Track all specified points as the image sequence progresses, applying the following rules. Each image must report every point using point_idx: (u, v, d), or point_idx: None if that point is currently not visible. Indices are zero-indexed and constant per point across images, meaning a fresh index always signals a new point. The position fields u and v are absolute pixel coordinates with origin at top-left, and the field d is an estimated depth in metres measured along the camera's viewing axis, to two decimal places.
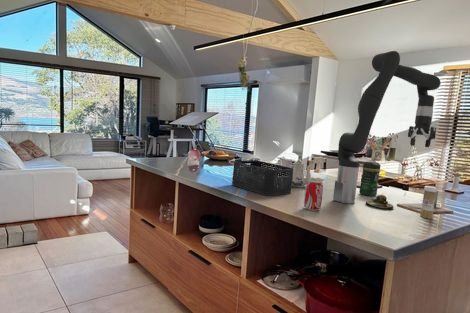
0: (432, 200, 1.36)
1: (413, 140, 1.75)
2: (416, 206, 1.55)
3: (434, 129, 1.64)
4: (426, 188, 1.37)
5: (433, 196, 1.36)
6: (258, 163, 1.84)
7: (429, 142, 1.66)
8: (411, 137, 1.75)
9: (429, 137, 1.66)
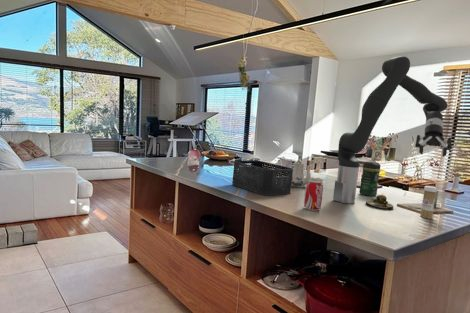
0: (432, 200, 1.36)
1: None
2: (416, 206, 1.55)
3: (450, 141, 1.49)
4: (426, 188, 1.37)
5: (433, 196, 1.36)
6: (259, 163, 1.84)
7: (446, 151, 1.46)
8: (422, 144, 1.51)
9: (447, 146, 1.47)
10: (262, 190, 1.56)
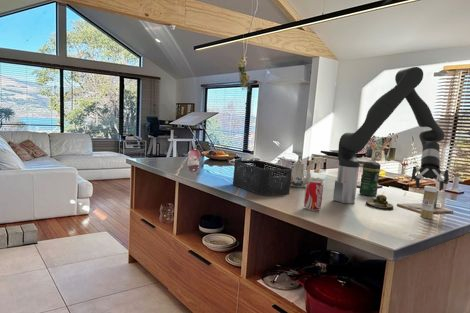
0: (432, 200, 1.36)
1: None
2: (416, 206, 1.55)
3: (447, 174, 1.45)
4: (426, 188, 1.37)
5: (433, 196, 1.36)
6: (261, 163, 1.84)
7: None
8: (418, 177, 1.47)
9: (443, 180, 1.43)
10: (259, 190, 1.56)
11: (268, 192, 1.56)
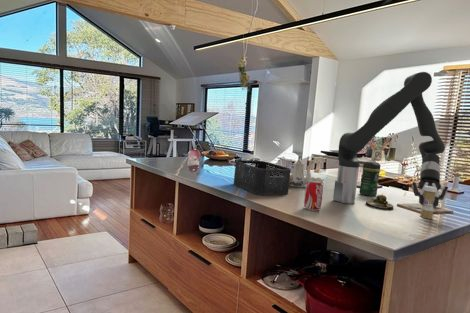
0: (432, 200, 1.36)
1: None
2: (416, 206, 1.55)
3: (446, 190, 1.39)
4: (426, 188, 1.37)
5: (433, 196, 1.36)
6: (264, 163, 1.84)
7: None
8: (422, 193, 1.40)
9: (438, 195, 1.38)
10: (255, 189, 1.56)
11: (264, 192, 1.56)
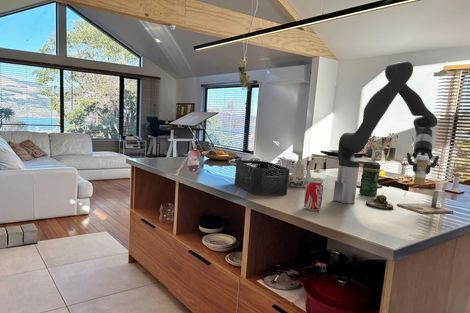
0: (424, 168, 1.49)
1: None
2: (416, 206, 1.55)
3: (438, 159, 1.52)
4: (419, 157, 1.50)
5: (425, 164, 1.49)
6: (265, 164, 1.84)
7: None
8: (415, 162, 1.52)
9: (430, 164, 1.50)
10: (252, 189, 1.57)
11: (261, 191, 1.56)
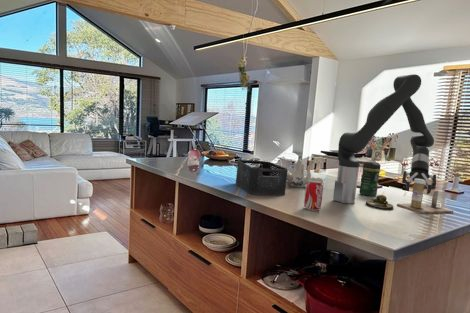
0: (421, 191, 1.50)
1: (409, 185, 1.54)
2: None
3: (435, 178, 1.53)
4: (416, 180, 1.51)
5: (422, 188, 1.50)
6: (268, 164, 1.83)
7: (430, 188, 1.50)
8: (408, 180, 1.54)
9: (431, 183, 1.51)
10: (249, 188, 1.57)
11: (257, 191, 1.56)
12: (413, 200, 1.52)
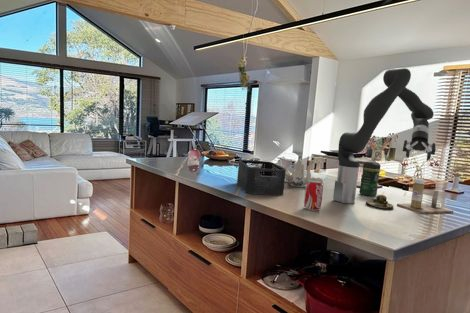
0: (421, 191, 1.50)
1: (409, 152, 1.63)
2: None
3: (434, 146, 1.62)
4: (415, 180, 1.51)
5: (422, 188, 1.50)
6: (270, 164, 1.83)
7: (430, 155, 1.59)
8: (408, 148, 1.63)
9: (431, 151, 1.60)
10: (246, 188, 1.58)
11: (254, 191, 1.56)
12: (413, 200, 1.52)
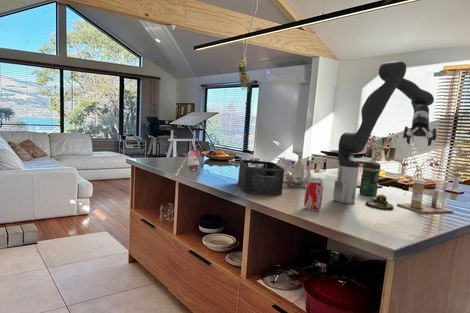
0: (421, 191, 1.50)
1: None
2: None
3: (435, 132, 1.61)
4: (415, 180, 1.51)
5: (422, 188, 1.50)
6: (271, 164, 1.82)
7: (431, 141, 1.58)
8: (409, 134, 1.62)
9: (432, 136, 1.59)
10: (244, 187, 1.59)
11: (252, 190, 1.56)
12: (413, 200, 1.52)
